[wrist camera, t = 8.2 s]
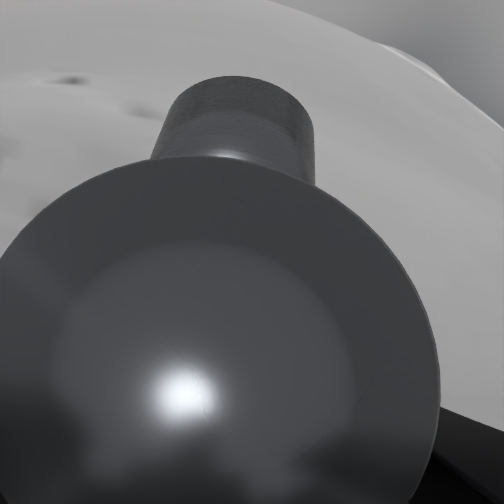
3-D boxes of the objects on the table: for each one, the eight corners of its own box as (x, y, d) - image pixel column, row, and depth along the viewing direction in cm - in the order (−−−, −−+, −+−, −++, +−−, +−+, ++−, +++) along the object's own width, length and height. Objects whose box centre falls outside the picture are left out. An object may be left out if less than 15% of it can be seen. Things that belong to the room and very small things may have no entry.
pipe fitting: (257, 447, 13) (411, 593, 2) (145, 432, 13) (-40, 526, 1) (272, 296, 17) (398, 86, 5) (168, 281, 16) (105, 43, 4)
